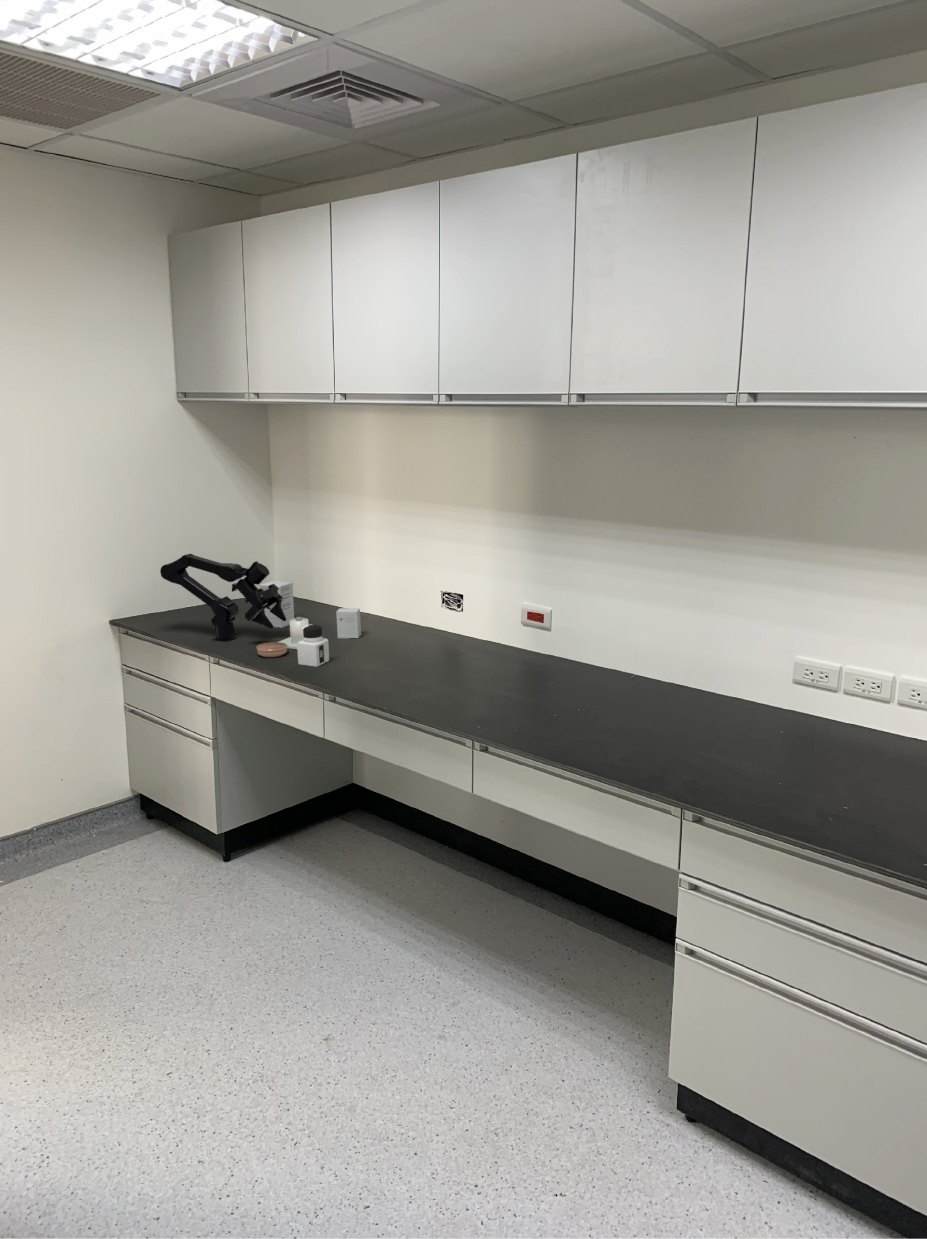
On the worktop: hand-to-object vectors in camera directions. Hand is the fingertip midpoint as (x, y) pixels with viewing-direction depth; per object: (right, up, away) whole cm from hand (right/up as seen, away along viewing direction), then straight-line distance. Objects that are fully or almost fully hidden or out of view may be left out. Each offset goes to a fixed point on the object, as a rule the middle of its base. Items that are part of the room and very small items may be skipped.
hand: (279, 624), depth 324 cm
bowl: (0, -11, -14) cm, 17 cm away
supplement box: (-6, 0, +28) cm, 29 cm away
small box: (+25, -5, +9) cm, 27 cm away
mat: (+8, -7, 0) cm, 10 cm away
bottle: (+8, -6, 0) cm, 10 cm away
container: (+17, -13, -24) cm, 32 cm away
